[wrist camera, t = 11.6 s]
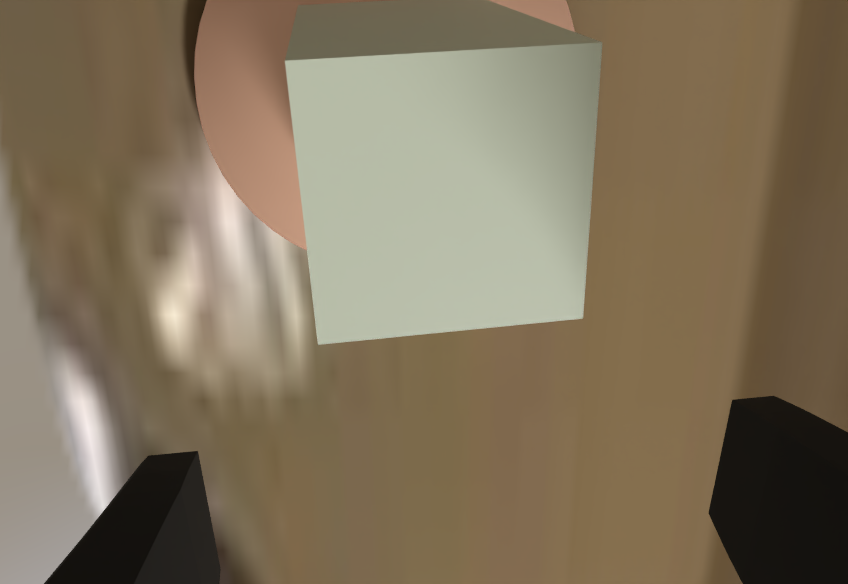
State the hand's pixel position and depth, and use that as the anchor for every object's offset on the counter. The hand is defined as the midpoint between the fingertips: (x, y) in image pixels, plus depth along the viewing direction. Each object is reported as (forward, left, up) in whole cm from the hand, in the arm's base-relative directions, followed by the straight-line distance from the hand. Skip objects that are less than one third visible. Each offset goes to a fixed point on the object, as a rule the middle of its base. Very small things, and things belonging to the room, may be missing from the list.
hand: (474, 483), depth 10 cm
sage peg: (0, -3, -10) cm, 10 cm away
